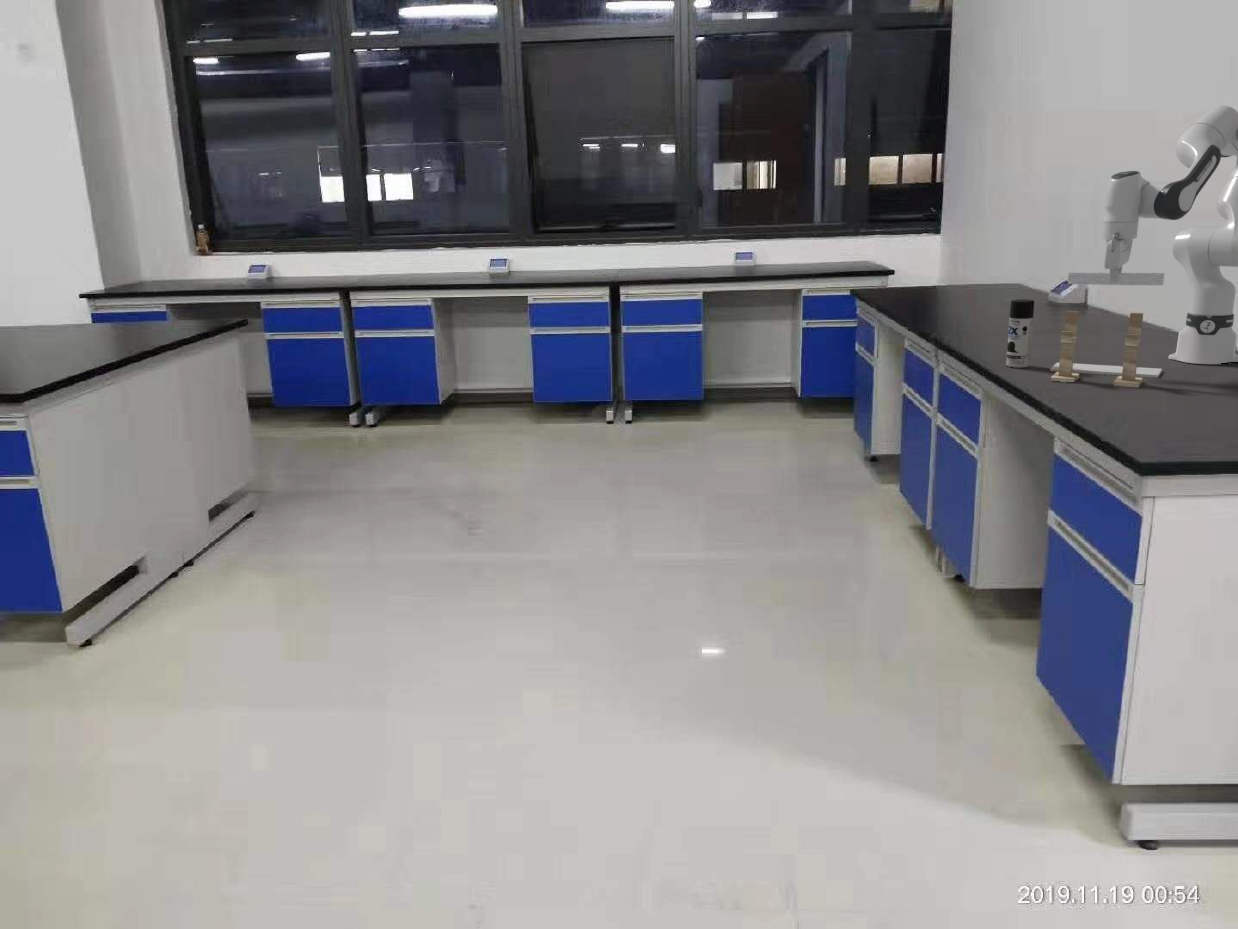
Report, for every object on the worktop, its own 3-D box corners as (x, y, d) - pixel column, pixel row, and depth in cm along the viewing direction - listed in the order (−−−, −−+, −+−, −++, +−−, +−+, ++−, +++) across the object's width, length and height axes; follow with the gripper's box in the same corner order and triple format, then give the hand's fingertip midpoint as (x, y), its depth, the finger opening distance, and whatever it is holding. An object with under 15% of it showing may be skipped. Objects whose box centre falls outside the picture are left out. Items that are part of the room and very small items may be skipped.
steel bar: (1069, 282, 277) (1070, 272, 276) (1163, 284, 264) (1164, 273, 263) (1067, 284, 275) (1068, 273, 274) (1162, 285, 262) (1163, 274, 261)
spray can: (1000, 365, 291) (1005, 300, 285) (1018, 363, 293) (1023, 298, 288) (1016, 369, 285) (1021, 302, 279) (1034, 366, 287) (1039, 300, 282)
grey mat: (1057, 364, 288) (1057, 362, 288) (1161, 371, 273) (1162, 368, 273) (1050, 370, 281) (1050, 368, 280) (1157, 377, 265) (1158, 375, 265)
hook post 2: (1118, 380, 265) (1125, 312, 259) (1142, 381, 261) (1150, 312, 256) (1113, 385, 258) (1120, 316, 253) (1138, 387, 255) (1146, 316, 250)
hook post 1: (1056, 376, 273) (1062, 309, 268) (1078, 377, 270) (1085, 310, 265) (1050, 381, 267) (1056, 313, 262) (1073, 382, 264) (1079, 314, 258)
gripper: (1126, 234, 255) (1121, 286, 259) (1137, 229, 271) (1132, 278, 275) (1101, 235, 259) (1096, 286, 263) (1112, 229, 275) (1108, 277, 279)
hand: (1114, 282), depth 269 cm, fingers closed on steel bar, 3 cm apart
